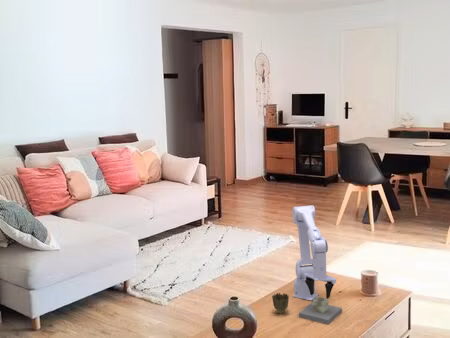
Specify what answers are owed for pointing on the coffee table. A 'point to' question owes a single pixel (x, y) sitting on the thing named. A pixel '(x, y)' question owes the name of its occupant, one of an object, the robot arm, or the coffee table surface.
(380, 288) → the coffee table surface
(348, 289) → the coffee table surface
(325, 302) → the sage block
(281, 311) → the cup
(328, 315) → the charcoal base
